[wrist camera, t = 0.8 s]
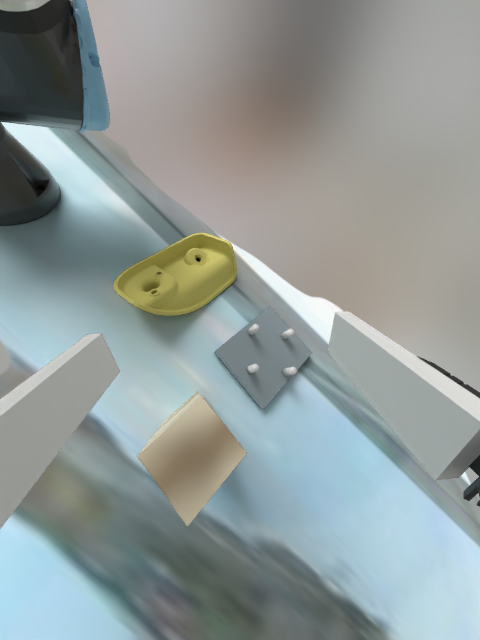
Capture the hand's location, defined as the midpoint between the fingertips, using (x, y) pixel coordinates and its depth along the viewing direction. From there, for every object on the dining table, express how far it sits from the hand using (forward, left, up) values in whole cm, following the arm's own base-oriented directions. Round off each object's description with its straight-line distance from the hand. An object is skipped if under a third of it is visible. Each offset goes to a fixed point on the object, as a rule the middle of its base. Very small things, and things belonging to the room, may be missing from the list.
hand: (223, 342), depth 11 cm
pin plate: (+5, +10, -21) cm, 24 cm away
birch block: (+5, -6, -21) cm, 22 cm away
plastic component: (-15, +7, -22) cm, 27 cm away
